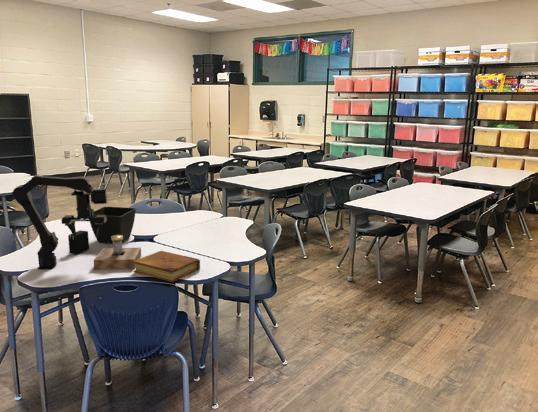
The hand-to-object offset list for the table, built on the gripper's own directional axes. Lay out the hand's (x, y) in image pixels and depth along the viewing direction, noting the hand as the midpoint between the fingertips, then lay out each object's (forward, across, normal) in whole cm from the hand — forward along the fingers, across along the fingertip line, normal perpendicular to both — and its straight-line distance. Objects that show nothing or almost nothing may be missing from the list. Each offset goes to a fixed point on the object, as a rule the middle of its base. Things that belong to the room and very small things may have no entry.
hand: (85, 237), depth 214 cm
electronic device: (+13, +9, -19) cm, 25 cm away
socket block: (+13, -14, -1) cm, 19 cm away
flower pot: (+13, -4, -38) cm, 40 cm away
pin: (+13, -14, -1) cm, 19 cm away
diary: (+14, -38, +11) cm, 42 cm away
